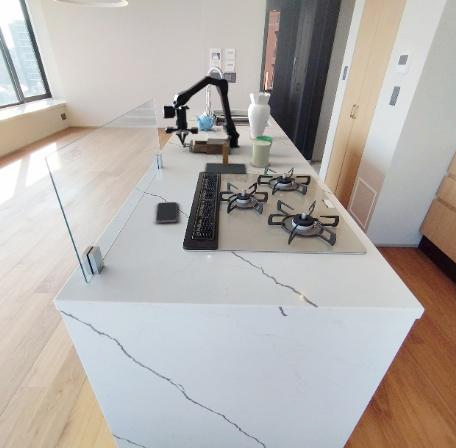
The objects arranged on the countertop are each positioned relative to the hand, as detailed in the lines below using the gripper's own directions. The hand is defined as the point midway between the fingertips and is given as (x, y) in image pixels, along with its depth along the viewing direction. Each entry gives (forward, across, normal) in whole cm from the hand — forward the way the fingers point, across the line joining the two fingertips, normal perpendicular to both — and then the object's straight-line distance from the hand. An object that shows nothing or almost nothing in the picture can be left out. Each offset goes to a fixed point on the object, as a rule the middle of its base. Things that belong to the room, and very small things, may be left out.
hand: (182, 145), depth 171 cm
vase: (+4, -48, -33) cm, 58 cm away
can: (+4, -44, +22) cm, 50 cm away
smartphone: (+4, -4, +79) cm, 79 cm away
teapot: (+4, -10, -56) cm, 57 cm away
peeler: (+3, -26, +24) cm, 35 cm away
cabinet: (+3, -21, 0) cm, 22 cm away
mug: (+4, -48, +3) cm, 48 cm away
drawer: (+2, -9, 0) cm, 9 cm away
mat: (+3, -26, +30) cm, 39 cm away
